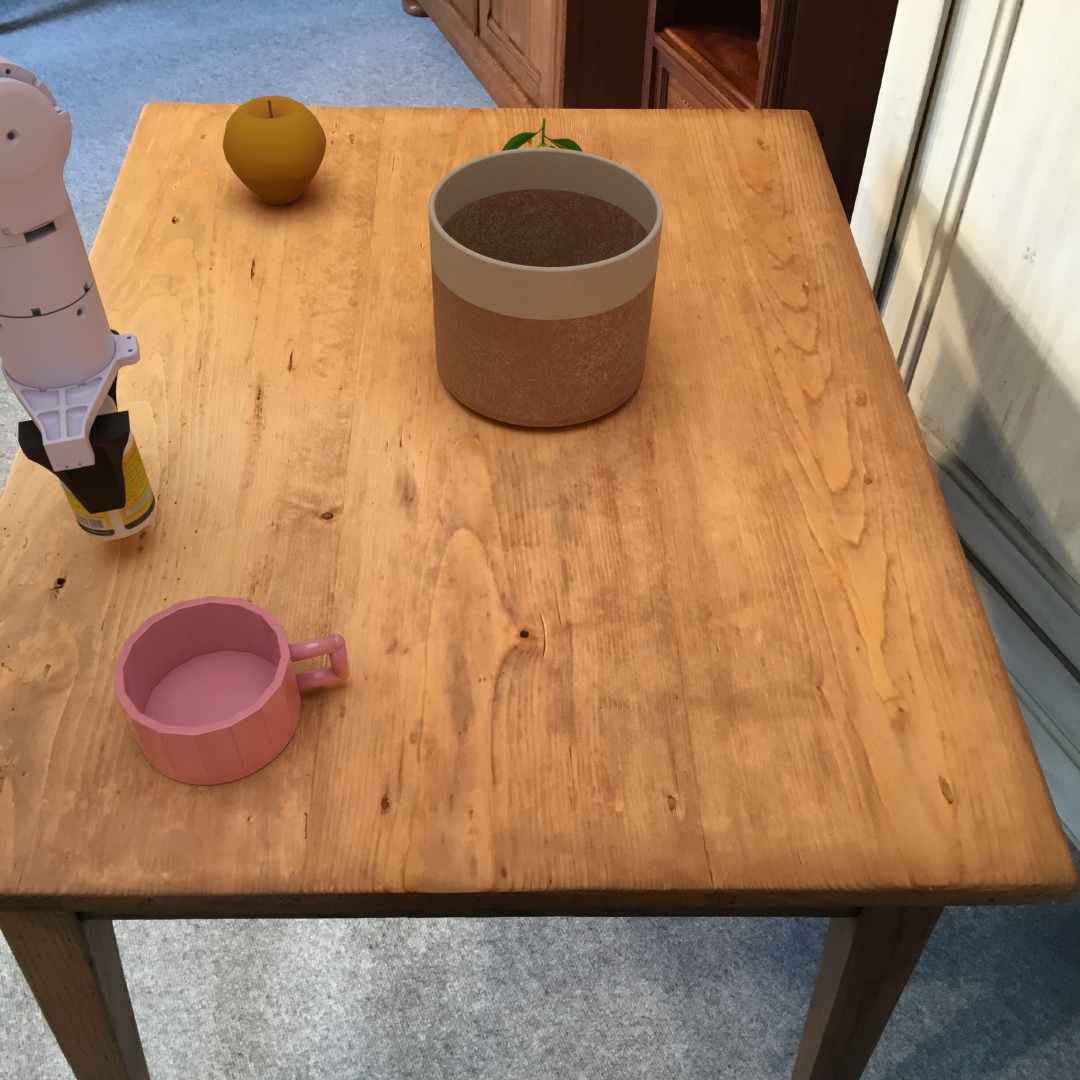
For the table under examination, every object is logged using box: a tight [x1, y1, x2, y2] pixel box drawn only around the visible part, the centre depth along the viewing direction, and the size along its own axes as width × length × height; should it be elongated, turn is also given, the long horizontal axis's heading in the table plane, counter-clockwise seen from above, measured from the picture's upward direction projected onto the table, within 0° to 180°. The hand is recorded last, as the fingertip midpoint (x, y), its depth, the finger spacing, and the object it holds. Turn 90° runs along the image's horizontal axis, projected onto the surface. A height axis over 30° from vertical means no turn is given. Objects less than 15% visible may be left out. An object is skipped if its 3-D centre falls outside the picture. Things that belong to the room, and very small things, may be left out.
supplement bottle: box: [58, 395, 157, 541], centre depth 65 cm, size 5×5×8 cm
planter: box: [427, 147, 664, 428], centre depth 78 cm, size 16×16×14 cm
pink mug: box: [112, 595, 351, 786], centre depth 60 cm, size 12×9×5 cm
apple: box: [222, 95, 327, 206], centre depth 96 cm, size 9×9×9 cm
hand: (105, 477), depth 66 cm, fingers closed on supplement bottle, 5 cm apart
